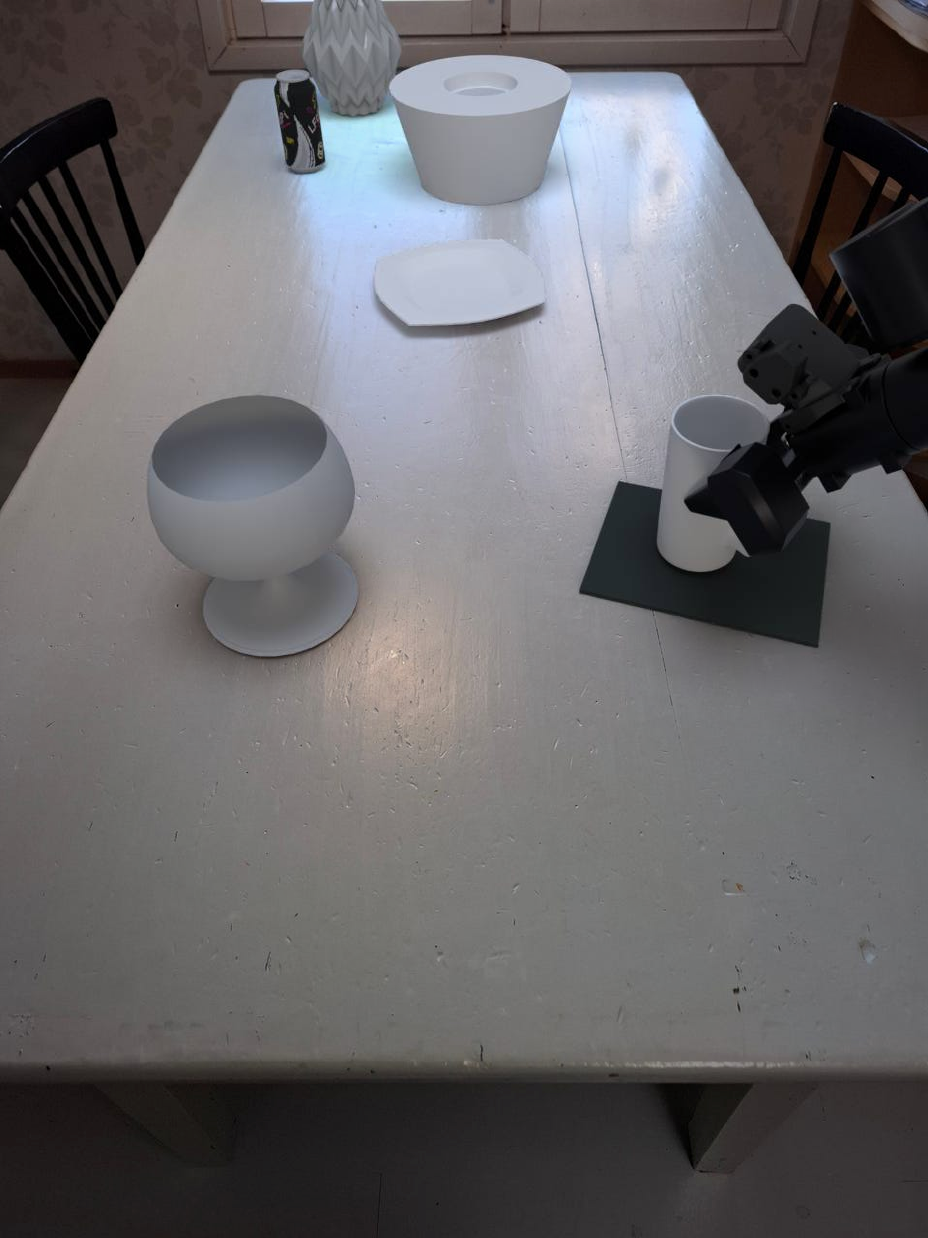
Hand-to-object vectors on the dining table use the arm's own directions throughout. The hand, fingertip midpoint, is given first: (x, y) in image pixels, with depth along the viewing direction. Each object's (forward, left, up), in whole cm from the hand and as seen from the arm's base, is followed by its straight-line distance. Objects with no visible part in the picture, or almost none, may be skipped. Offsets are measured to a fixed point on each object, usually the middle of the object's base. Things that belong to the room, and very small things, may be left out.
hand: (710, 481), depth 64 cm
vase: (+70, -89, -8) cm, 113 cm away
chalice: (+30, +15, -8) cm, 34 cm away
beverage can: (+67, -64, -8) cm, 93 cm away
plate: (+33, -35, -8) cm, 49 cm away
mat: (-1, 0, -8) cm, 8 cm away
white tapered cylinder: (+41, -67, -8) cm, 79 cm away
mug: (-1, +1, -7) cm, 7 cm away
